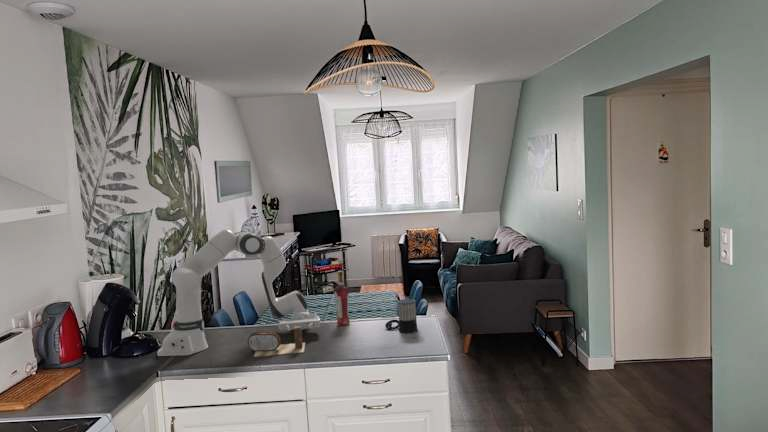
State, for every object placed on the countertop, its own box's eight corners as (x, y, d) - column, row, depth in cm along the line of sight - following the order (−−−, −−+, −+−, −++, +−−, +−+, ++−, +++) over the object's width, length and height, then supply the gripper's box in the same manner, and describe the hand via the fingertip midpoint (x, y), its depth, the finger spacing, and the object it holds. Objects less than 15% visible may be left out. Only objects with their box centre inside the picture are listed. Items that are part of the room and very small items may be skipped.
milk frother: (418, 333, 275) (416, 302, 274) (385, 335, 275) (383, 304, 274) (416, 325, 289) (415, 296, 288) (385, 326, 290) (383, 297, 288)
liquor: (334, 324, 300) (330, 271, 297) (347, 321, 303) (343, 269, 301) (339, 327, 293) (336, 273, 291) (352, 324, 297) (349, 271, 294)
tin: (281, 348, 262) (280, 330, 261) (279, 351, 258) (278, 332, 258) (249, 349, 263) (248, 331, 262) (247, 352, 260) (246, 333, 259)
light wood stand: (253, 357, 253) (252, 335, 253) (257, 347, 267) (255, 326, 266) (304, 352, 256) (302, 330, 255) (305, 343, 270) (303, 322, 269)
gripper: (278, 316, 286) (276, 323, 272) (320, 312, 288) (320, 319, 274) (279, 328, 287) (277, 336, 273) (320, 325, 289) (320, 332, 275)
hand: (299, 328), depth 274 cm, fingers open, 8 cm apart
